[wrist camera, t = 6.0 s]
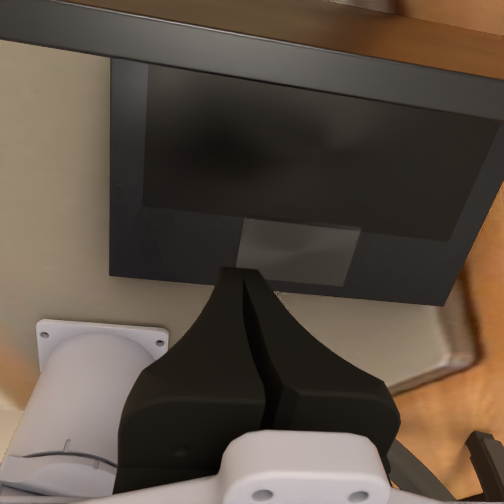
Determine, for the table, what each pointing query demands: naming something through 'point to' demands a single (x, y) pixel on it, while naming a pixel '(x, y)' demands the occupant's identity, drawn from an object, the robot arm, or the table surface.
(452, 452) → the table surface
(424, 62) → the screen
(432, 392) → the table surface
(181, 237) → the laptop
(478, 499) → the multiport hub
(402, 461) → the hand grip strengthener
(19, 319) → the table surface
